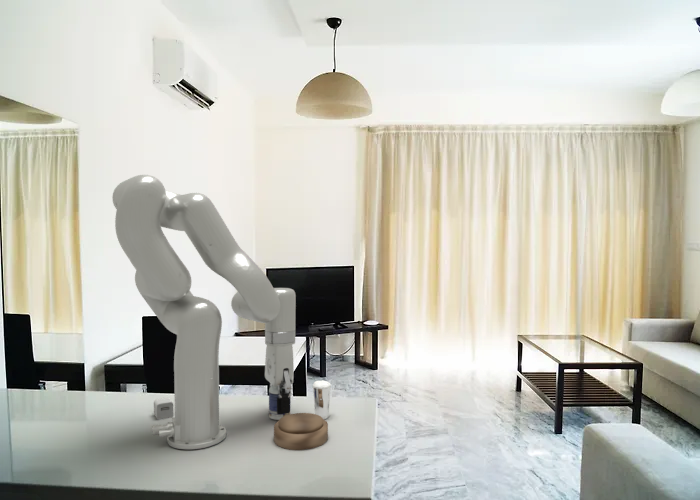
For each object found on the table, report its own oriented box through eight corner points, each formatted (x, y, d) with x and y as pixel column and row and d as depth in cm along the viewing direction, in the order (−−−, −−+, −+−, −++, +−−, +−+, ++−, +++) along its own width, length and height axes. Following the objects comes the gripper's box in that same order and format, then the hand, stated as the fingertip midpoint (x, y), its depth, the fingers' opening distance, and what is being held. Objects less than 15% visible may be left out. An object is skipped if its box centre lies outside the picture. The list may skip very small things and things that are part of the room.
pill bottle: (288, 420, 119) (289, 381, 119) (267, 420, 119) (267, 380, 119) (291, 413, 124) (292, 375, 124) (270, 412, 124) (271, 375, 124)
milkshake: (333, 420, 119) (333, 380, 119) (311, 420, 119) (311, 380, 119) (334, 414, 123) (334, 375, 123) (313, 414, 124) (313, 375, 123)
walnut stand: (283, 454, 100) (283, 435, 100) (267, 433, 111) (267, 416, 111) (336, 443, 105) (336, 425, 105) (316, 424, 116) (316, 408, 116)
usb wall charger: (156, 420, 120) (156, 404, 120) (152, 412, 126) (152, 396, 126) (173, 417, 122) (173, 401, 122) (168, 409, 128) (168, 394, 128)
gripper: (257, 332, 128) (256, 401, 128) (275, 345, 112) (274, 423, 112) (284, 330, 131) (283, 397, 131) (305, 342, 115) (305, 418, 115)
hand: (279, 408), depth 121 cm, fingers closed on pill bottle, 5 cm apart
